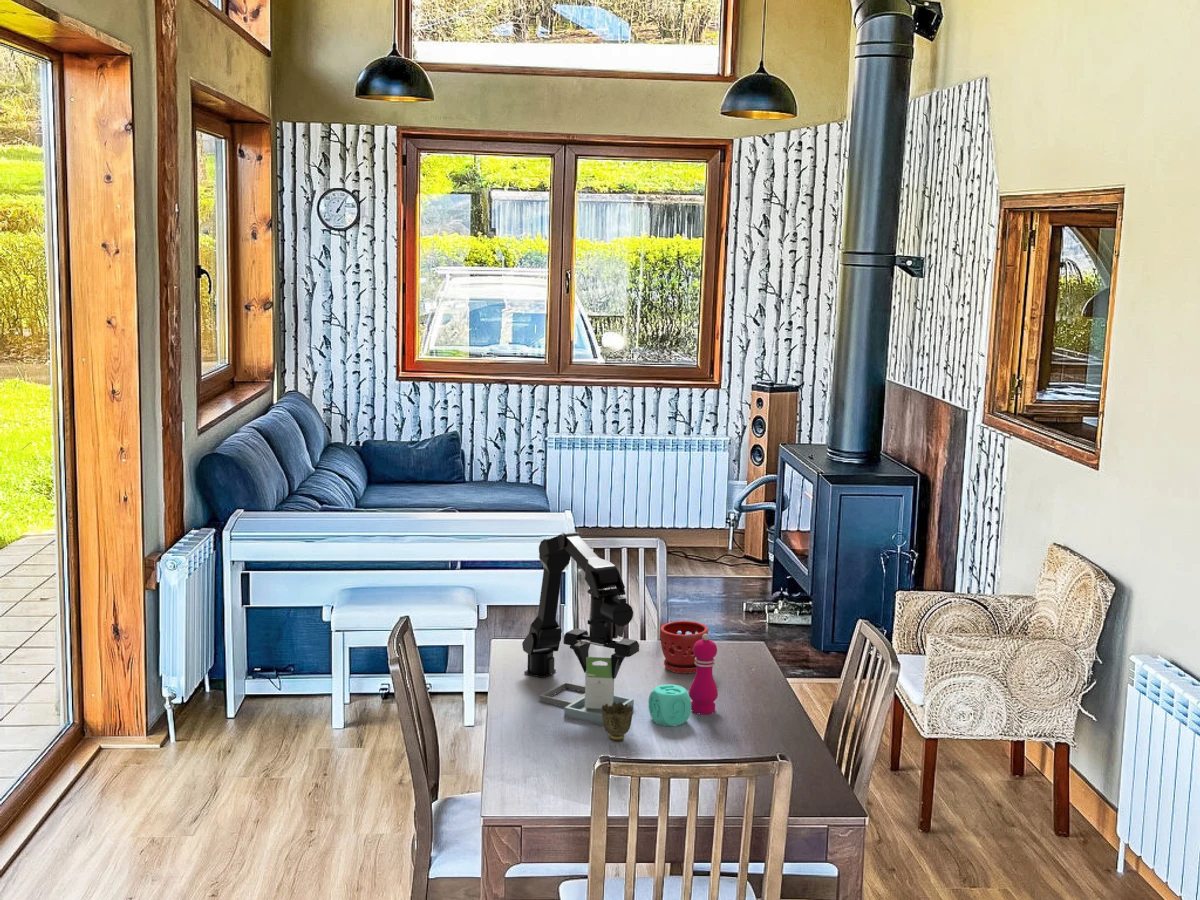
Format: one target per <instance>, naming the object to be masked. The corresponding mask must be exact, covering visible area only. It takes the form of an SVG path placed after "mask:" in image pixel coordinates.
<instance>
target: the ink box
mask: <svg viewBox="0 0 1200 900" xmlns="http://www.w3.org/2000/svg"><path fill="white" fill-rule="evenodd" d="M586 660H587V661H586V662H587V664H586V666H587V667H586V673H585V676H584V677H585V682H584V686H585V708H598V709H602V706H603V705H604V706H605V705H606V704H608V706H612V705H613V704H612V703H613V697H614V695H615V693H614V692H615V679H612V669H611V657H601V656H600V657H598V656H597V657H595V656H588V657H586ZM595 662H604V663H606V665H604V664H593V663H595Z"/></svg>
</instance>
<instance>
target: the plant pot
mask: <svg viewBox="0 0 1200 900" xmlns="http://www.w3.org/2000/svg"><path fill="white" fill-rule="evenodd" d="M678 632H680V633H681V634H680V633H679V634H678ZM687 632H689V633H691V634H687ZM696 632H697V633H696ZM703 634H708V635H709V628H708V627H707V626H706V625H705V624H703V623H701V622H696V621H689V620H688V621H687V620H680V621H679V620H678V621H671V622H668V623H665V624H663V625H662V626H660V633H659V635H660V646H661V651H662V654H663V656H664V660H663V665H664V667H665V668H666V669H667V670H669V671H670V672H673V673H678V674H686V673H687V674H686V675H688V674H693V673H696V664H695V658H696V656H695V655H694V653H693V647H694V644H695V643H696V642H697V641H698V640H701V639H702V636H703Z"/></svg>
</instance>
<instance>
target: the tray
mask: <svg viewBox="0 0 1200 900" xmlns="http://www.w3.org/2000/svg"><path fill="white" fill-rule="evenodd" d="M634 700H635V699H634V698H630V697H628V696H627V697H626V696H622V695H621V696H620V695H618V694H617V695H616V694H614V697H613V702H615V703H616V704H617V703H619V702H622V703H623V705H624V706H625V704H627V705H628V707H629V706H630V705H631V707H632V708H633V709H634ZM563 708H564V709H563V710H564V711H563V712H564V716H563V717H564V718H566V717H567V719H570V718H571V720H575V721H579V722H584V723H586V724H587V723H588V724H592V725H597V726H601V727H604V725H603V718H602V709H598V708H585V696H583V697H581V698H580V699H578V700H576V701H575V702H573V703H571V704H569V705H568V706H566V707H563Z"/></svg>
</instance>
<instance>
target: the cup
mask: <svg viewBox="0 0 1200 900" xmlns="http://www.w3.org/2000/svg"><path fill="white" fill-rule="evenodd" d="M612 704H613V705H612V706H608V704H606V705H605V706H604V705H603V706H602V718H603V725H604V726H603V729H604V730H605V732H606V733H607V734H608V738H609V740H610V742H611V741H612V742H617V743H618V742H619V743H620V742H622V741H624V739H625V735H626V734H627V733H629V731H630V729H631V725H632V719H633V713H634V707H633V708H632V707H631V705H630V706H629V707H628V705H627V704H625V706H624V705H623V703H622V702H619V703H617V704H616V703H615V702H613V703H612Z"/></svg>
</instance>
